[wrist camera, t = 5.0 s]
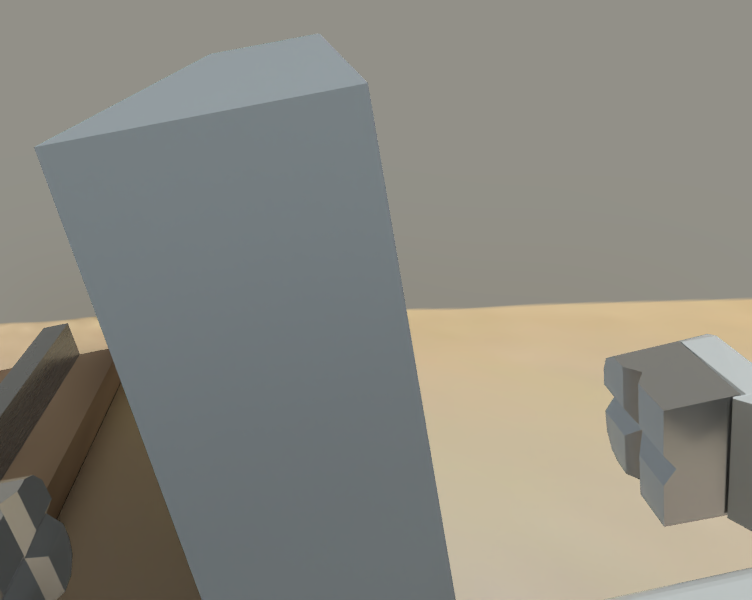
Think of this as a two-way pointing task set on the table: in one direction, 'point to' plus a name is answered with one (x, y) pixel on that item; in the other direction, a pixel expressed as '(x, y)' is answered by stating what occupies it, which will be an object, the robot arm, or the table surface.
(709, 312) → the table surface
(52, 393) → the track board
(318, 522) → the tall grey rectangular block
